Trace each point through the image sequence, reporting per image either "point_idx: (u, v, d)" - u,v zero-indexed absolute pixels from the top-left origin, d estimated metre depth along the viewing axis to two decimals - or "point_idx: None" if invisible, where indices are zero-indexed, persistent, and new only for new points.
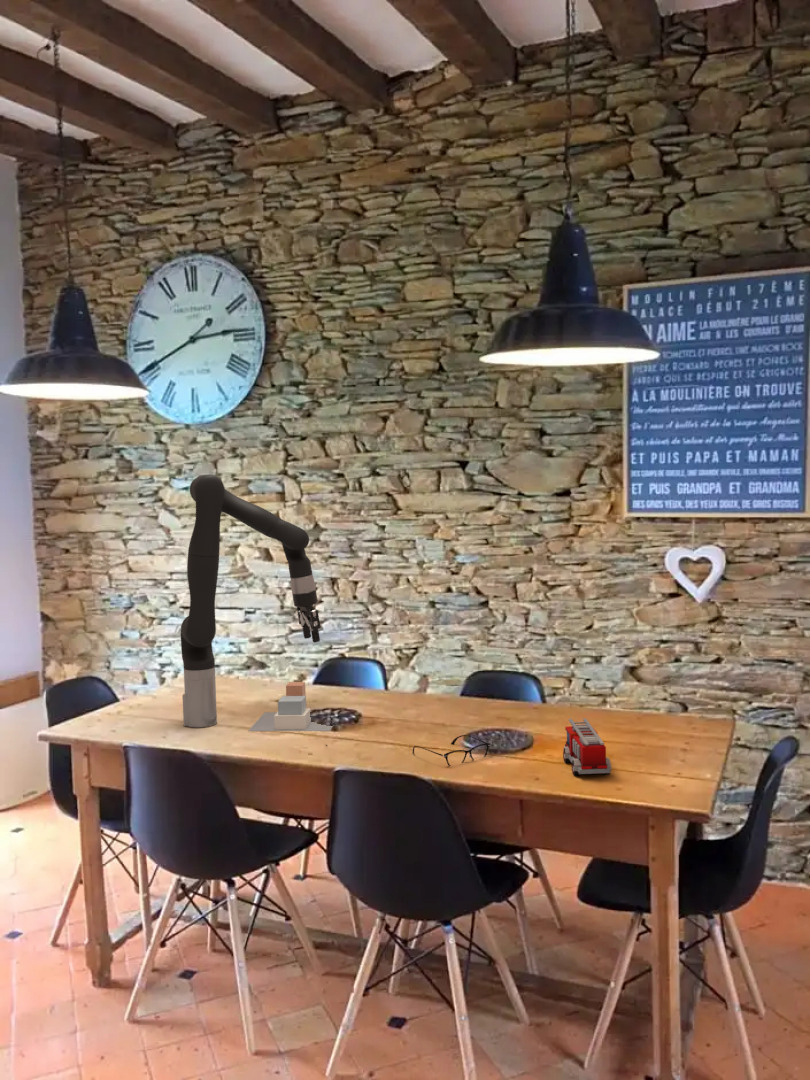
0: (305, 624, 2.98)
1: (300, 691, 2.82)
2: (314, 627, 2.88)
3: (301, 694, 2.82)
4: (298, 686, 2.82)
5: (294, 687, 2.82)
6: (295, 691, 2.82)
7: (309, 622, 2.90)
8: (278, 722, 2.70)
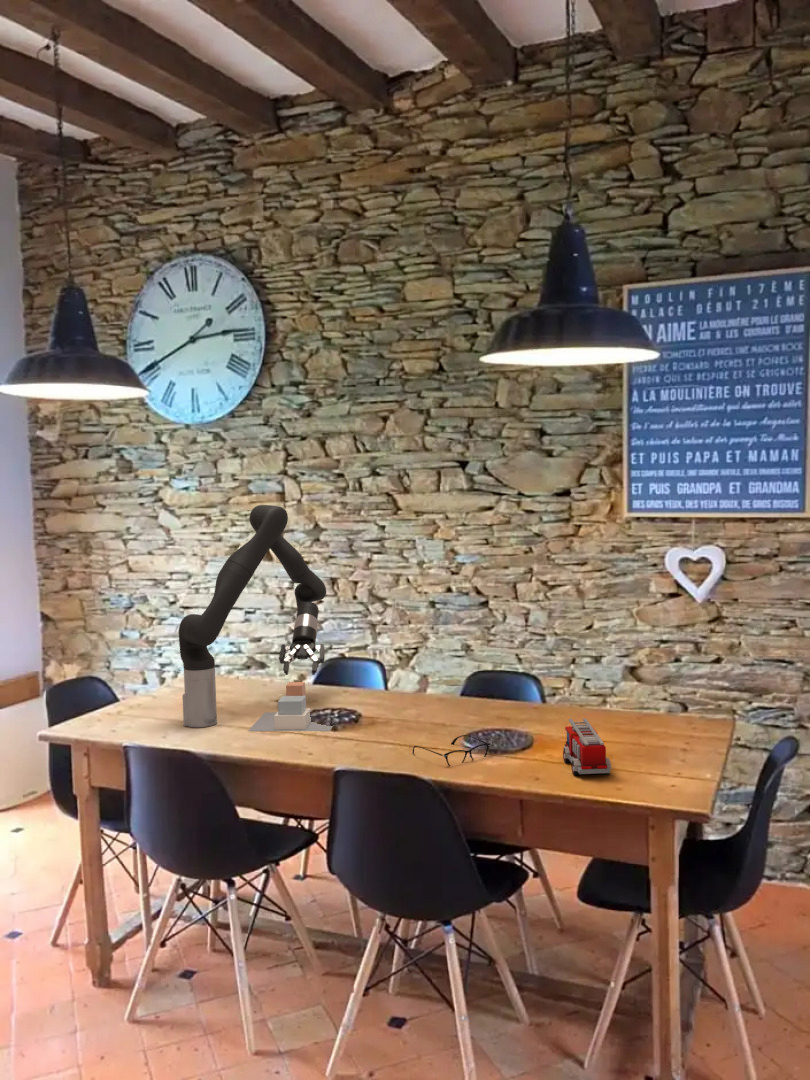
0: (288, 661, 2.95)
1: (300, 691, 2.82)
2: (323, 658, 2.94)
3: (301, 694, 2.82)
4: (298, 686, 2.82)
5: (294, 687, 2.82)
6: (295, 691, 2.82)
7: None
8: (278, 722, 2.70)
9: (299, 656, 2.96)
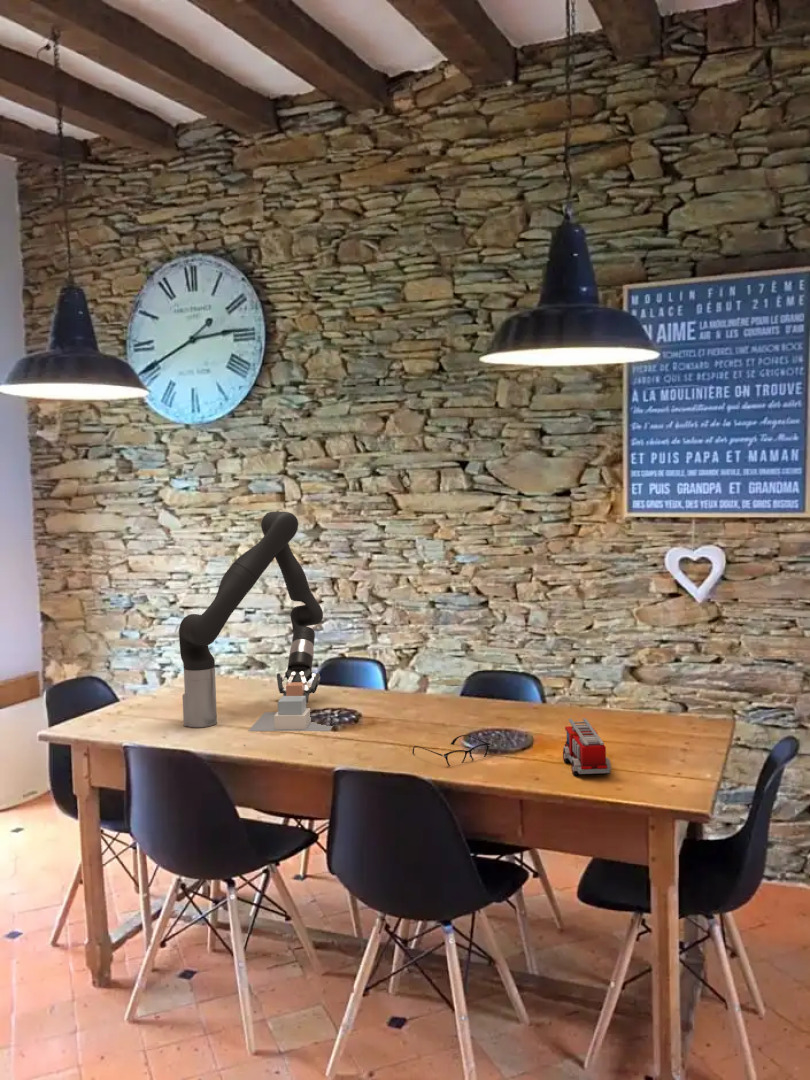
0: None
1: (300, 691, 2.82)
2: None
3: (301, 694, 2.82)
4: (298, 686, 2.82)
5: (294, 687, 2.82)
6: (295, 691, 2.82)
7: (306, 683, 2.87)
8: (278, 722, 2.70)
9: None
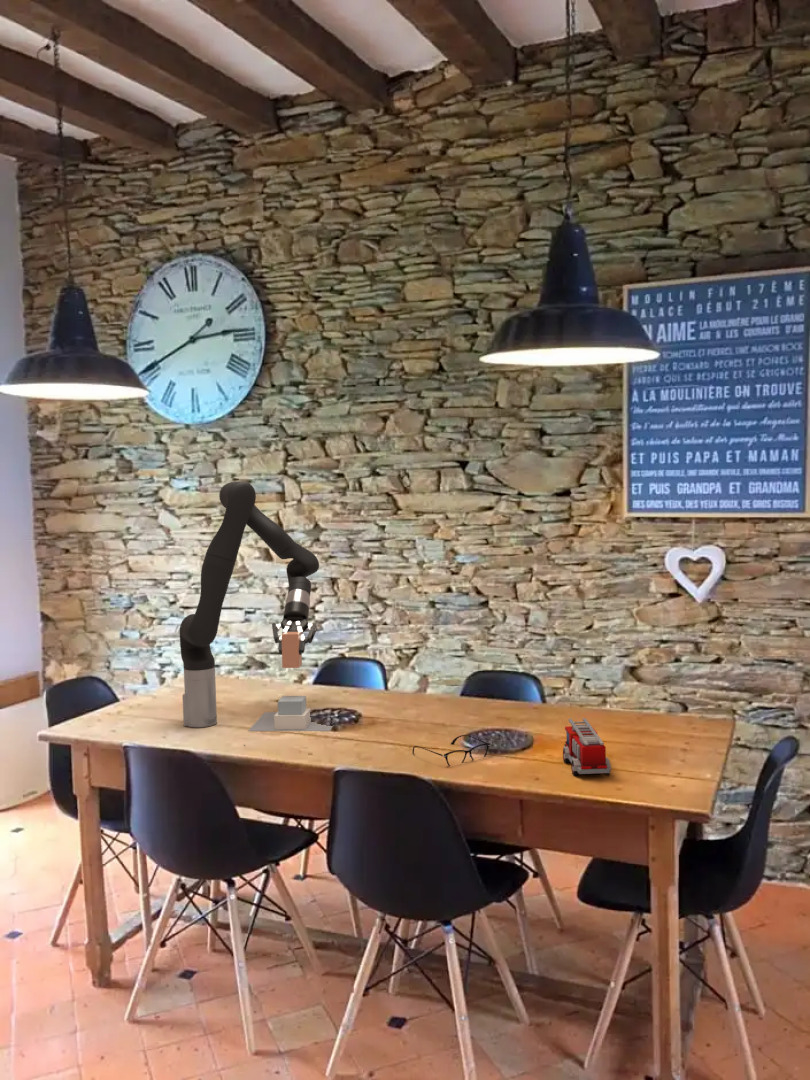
0: None
1: (296, 640, 2.75)
2: (310, 637, 2.78)
3: (297, 643, 2.75)
4: (294, 635, 2.75)
5: (290, 636, 2.75)
6: (291, 640, 2.75)
7: None
8: (278, 722, 2.70)
9: None
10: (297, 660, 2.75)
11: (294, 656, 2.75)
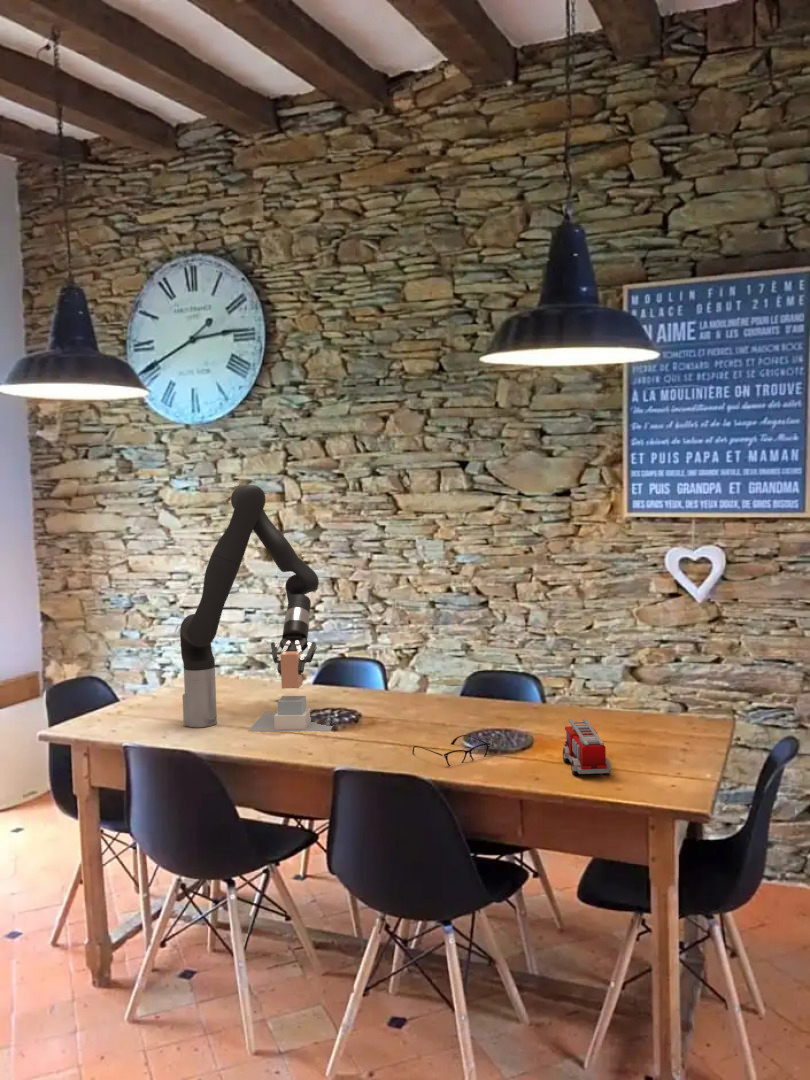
0: None
1: (295, 660, 2.71)
2: (310, 656, 2.74)
3: (296, 663, 2.71)
4: (293, 655, 2.71)
5: (289, 656, 2.71)
6: (290, 660, 2.71)
7: None
8: (278, 722, 2.70)
9: None
10: (296, 680, 2.71)
11: (294, 676, 2.71)
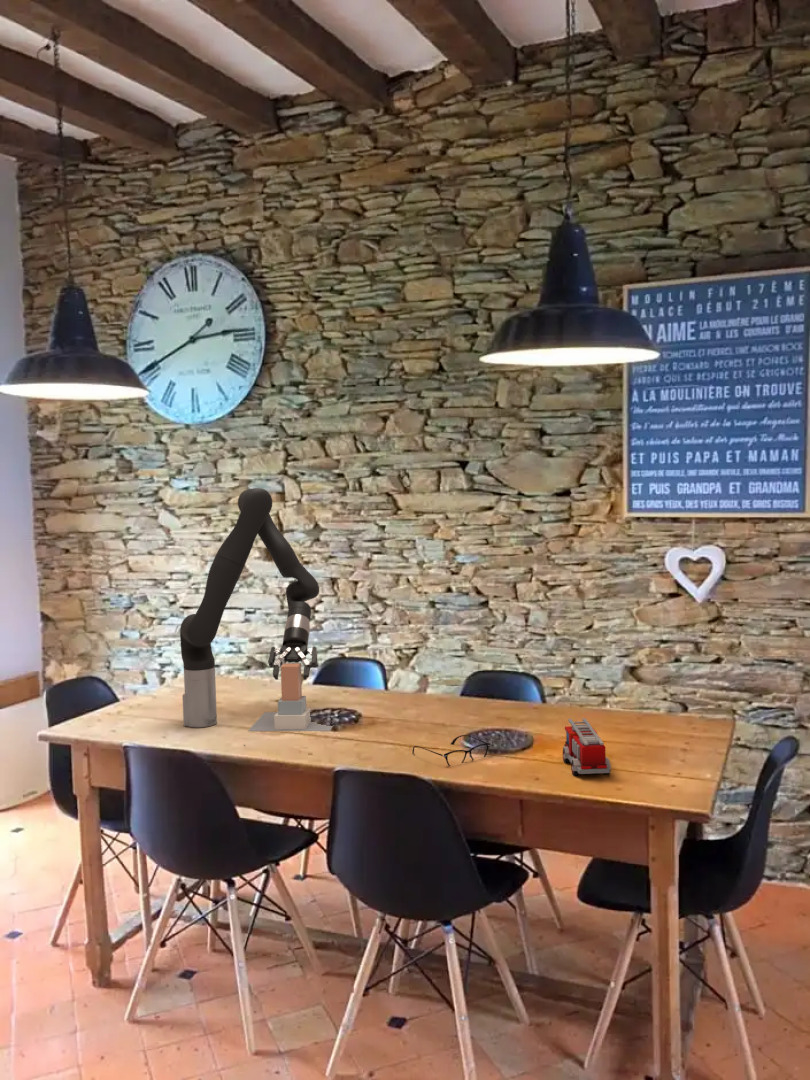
0: (278, 665, 2.75)
1: (295, 672, 2.71)
2: (315, 661, 2.74)
3: (296, 675, 2.71)
4: (293, 667, 2.71)
5: (289, 668, 2.71)
6: (290, 672, 2.71)
7: None
8: (278, 722, 2.70)
9: (290, 659, 2.76)
10: (297, 693, 2.71)
11: (294, 688, 2.71)
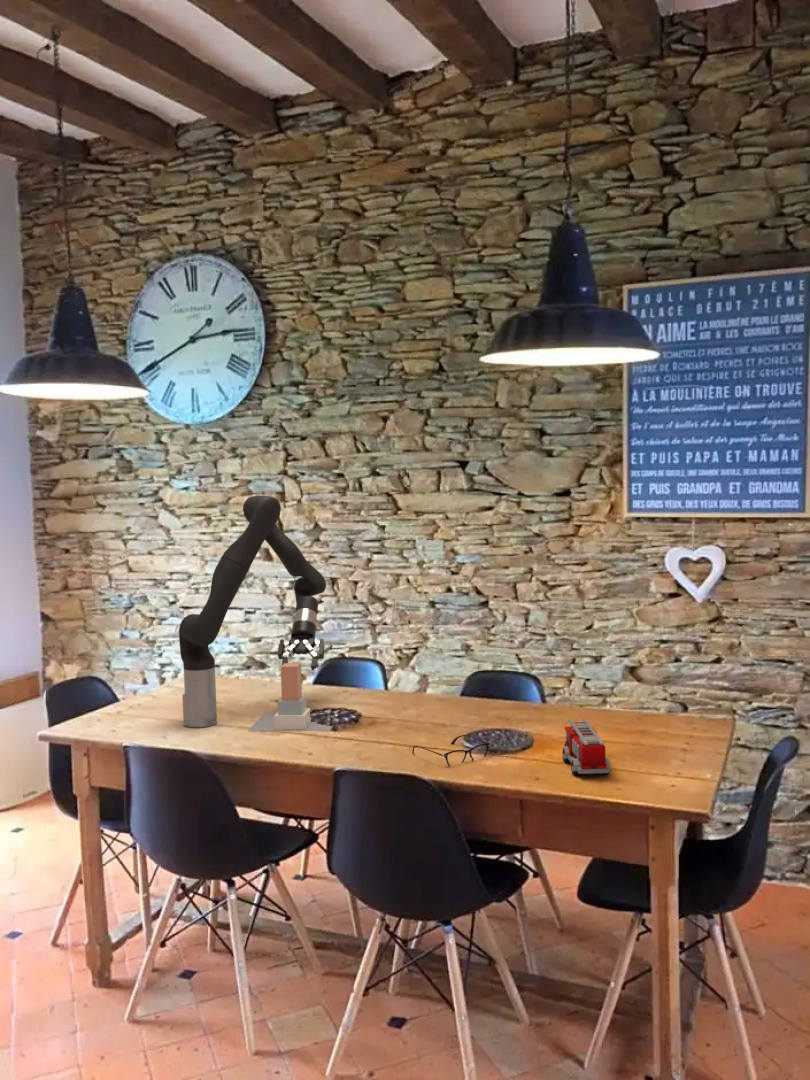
0: (287, 656, 2.88)
1: (295, 672, 2.71)
2: (322, 653, 2.87)
3: (296, 675, 2.71)
4: (293, 667, 2.71)
5: (289, 668, 2.71)
6: (290, 672, 2.71)
7: None
8: (278, 722, 2.70)
9: (298, 651, 2.89)
10: (297, 693, 2.71)
11: (294, 688, 2.71)
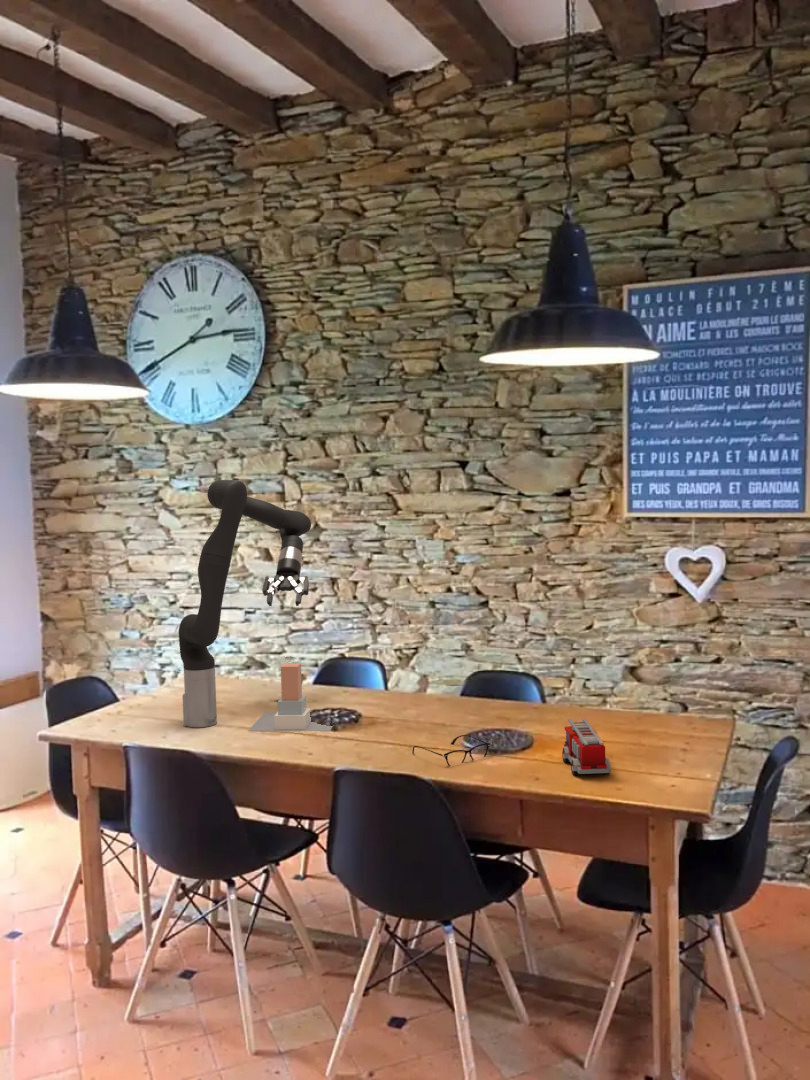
0: (271, 593, 2.92)
1: (295, 672, 2.71)
2: (307, 589, 2.91)
3: (296, 675, 2.71)
4: (293, 667, 2.71)
5: (289, 668, 2.71)
6: (290, 672, 2.71)
7: None
8: (278, 722, 2.70)
9: (283, 588, 2.92)
10: (297, 693, 2.71)
11: (294, 688, 2.71)
